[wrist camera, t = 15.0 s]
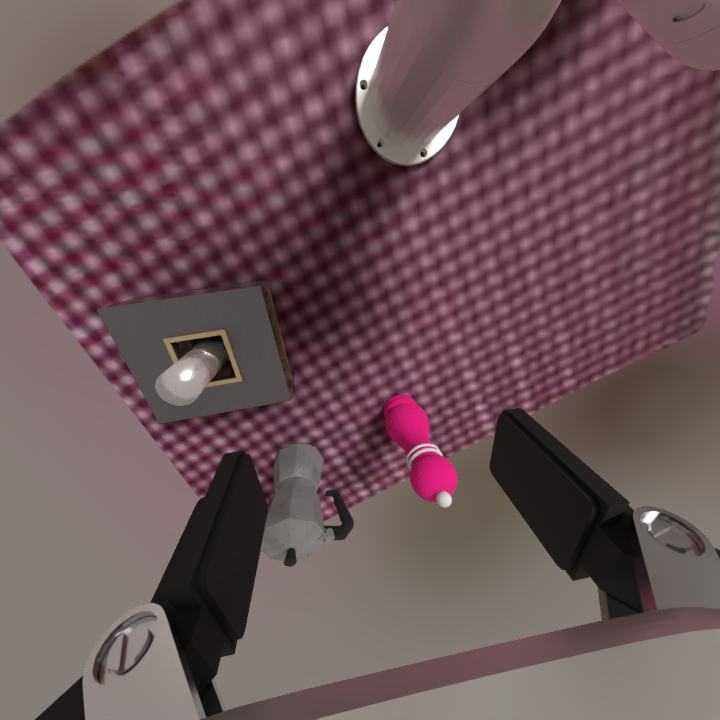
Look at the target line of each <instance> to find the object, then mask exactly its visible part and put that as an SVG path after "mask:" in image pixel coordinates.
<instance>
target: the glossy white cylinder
mask: <svg viewBox="0 0 720 720" xmlns="http://www.w3.org/2000/svg"><path fill="white" fill-rule="evenodd" d="M229 359H230V358H229V355H228V353H227V350H226V347H225V344H224V341H223V339H222V336H221V335H218V336H211V337H205V338H203V339H202V340H200V341H199V342H198V343H197V344H196V345H195V347H194V348H193V349H191V350H190V351H189V352H188V353H187V354H185V355H184V356H183V357H182V358H180V359H179V360H178V361H177V362H176V363H174V364H173V365H172V366H171V367H170V368H168V369H167V370H166V371H165V372H164V373H162V374H161V375H160V376H159V377H158V378H157V380H156V382H155V389H156V392H157V394H158V395H159V396H160V397H161V398H162V399H163V400H164V401H166V402H167V403H170V404H172V405H177V406H184V405H189V404H191V403H193V402H194V401H195V400H196V399H197V398H198V396H199V395H200V394H201V393H202V391H203V390H204V389H205V388H206V386H207V385H208V384H209V383H210V381H211V380H212V379H213V377H214V376H215V375H216V374H217V372H218V371H219V370H220V369H221V367H223V366H224V365H225V364H226V363H227V362H228V360H229Z"/></svg>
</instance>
